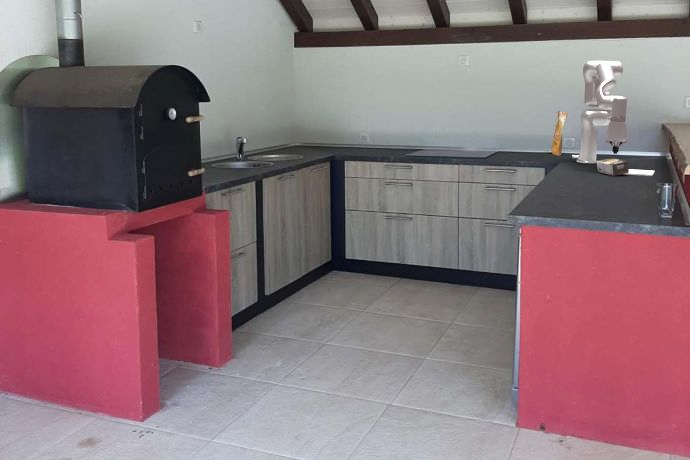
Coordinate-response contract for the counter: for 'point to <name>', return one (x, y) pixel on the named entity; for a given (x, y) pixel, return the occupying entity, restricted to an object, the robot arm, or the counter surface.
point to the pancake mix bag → (558, 133)
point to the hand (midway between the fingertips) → (615, 153)
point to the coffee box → (613, 166)
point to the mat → (640, 172)
